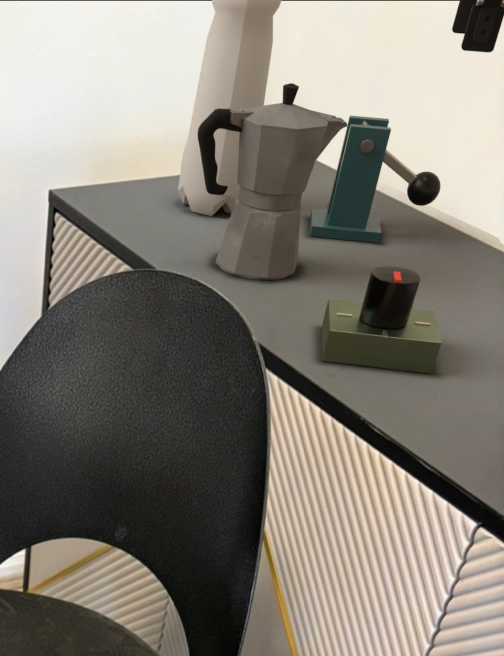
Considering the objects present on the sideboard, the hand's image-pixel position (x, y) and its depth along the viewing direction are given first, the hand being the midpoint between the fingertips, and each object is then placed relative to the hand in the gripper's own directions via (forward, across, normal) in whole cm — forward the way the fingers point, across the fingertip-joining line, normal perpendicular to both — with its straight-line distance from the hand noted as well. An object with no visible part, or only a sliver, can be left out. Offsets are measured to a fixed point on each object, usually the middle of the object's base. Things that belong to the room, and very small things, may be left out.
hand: (471, 41), depth 119 cm
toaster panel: (+20, +36, -6) cm, 42 cm away
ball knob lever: (+14, 0, -5) cm, 15 cm away
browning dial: (+17, +36, -6) cm, 40 cm away
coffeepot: (+20, +16, -19) cm, 32 cm away
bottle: (+20, -4, -24) cm, 32 cm away
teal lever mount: (+20, 0, -8) cm, 22 cm away
